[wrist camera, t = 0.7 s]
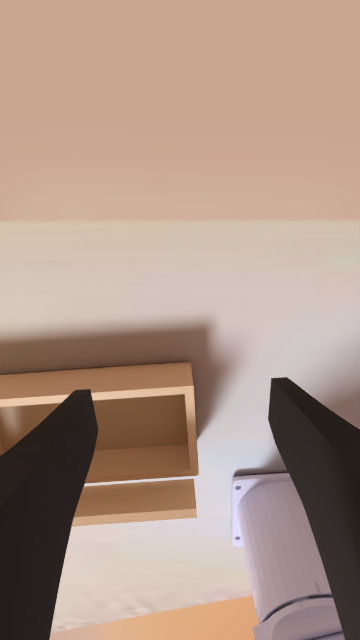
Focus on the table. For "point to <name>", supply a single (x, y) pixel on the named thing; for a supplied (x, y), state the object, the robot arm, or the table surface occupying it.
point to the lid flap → (136, 502)
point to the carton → (114, 416)
